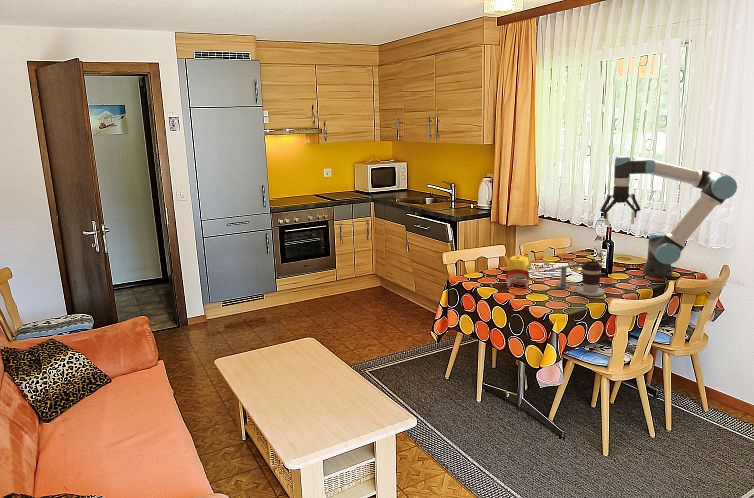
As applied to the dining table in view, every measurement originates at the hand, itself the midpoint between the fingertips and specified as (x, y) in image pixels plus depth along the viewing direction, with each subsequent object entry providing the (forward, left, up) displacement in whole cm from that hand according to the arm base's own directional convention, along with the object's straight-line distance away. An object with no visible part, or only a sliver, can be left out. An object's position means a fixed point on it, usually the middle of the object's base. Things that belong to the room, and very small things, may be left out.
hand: (619, 224), depth 303 cm
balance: (+31, +13, -31) cm, 46 cm away
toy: (+55, +11, -32) cm, 64 cm away
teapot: (+52, -16, -32) cm, 63 cm away
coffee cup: (+19, +23, -30) cm, 42 cm away
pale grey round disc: (+19, +23, -31) cm, 43 cm away
